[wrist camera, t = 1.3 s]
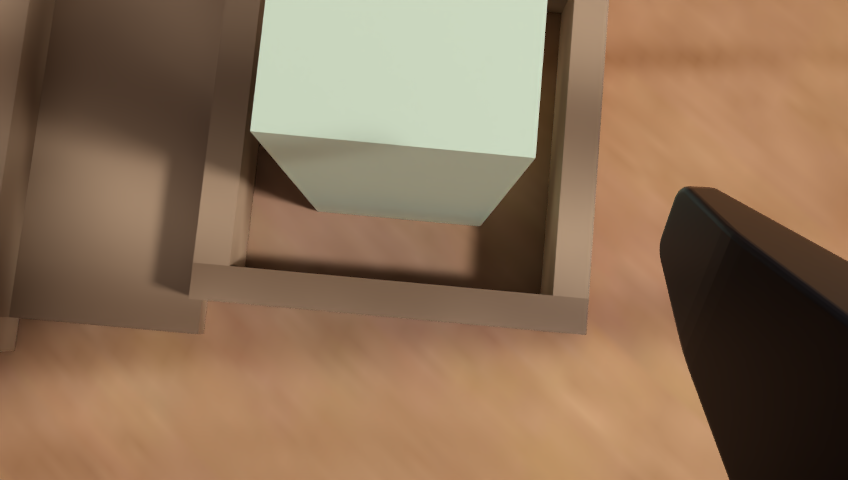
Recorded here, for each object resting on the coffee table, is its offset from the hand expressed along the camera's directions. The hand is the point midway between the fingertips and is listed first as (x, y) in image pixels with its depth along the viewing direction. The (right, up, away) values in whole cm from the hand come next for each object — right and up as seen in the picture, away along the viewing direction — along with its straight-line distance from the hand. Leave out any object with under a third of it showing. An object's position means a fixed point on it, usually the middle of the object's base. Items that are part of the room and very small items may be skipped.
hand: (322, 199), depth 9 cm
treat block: (+1, +3, +14) cm, 14 cm away
